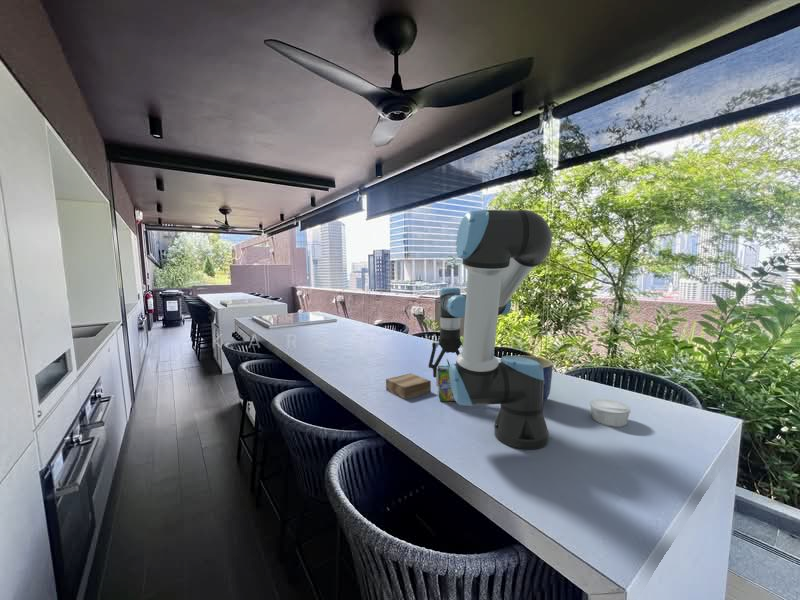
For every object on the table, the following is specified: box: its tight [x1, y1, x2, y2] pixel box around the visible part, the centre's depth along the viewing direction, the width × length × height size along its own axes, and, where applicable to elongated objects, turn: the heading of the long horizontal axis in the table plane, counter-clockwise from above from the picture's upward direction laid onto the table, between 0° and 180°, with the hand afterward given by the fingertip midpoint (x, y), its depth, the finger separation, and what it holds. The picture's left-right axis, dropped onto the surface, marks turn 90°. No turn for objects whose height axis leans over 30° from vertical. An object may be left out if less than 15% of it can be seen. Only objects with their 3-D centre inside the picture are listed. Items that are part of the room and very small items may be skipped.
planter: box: [517, 355, 554, 403], centre depth 127 cm, size 17×17×15 cm
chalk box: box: [437, 358, 456, 402], centre depth 132 cm, size 9×9×15 cm
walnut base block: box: [385, 373, 432, 400], centre depth 140 cm, size 13×13×5 cm
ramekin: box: [589, 398, 631, 428], centre depth 110 cm, size 11×11×5 cm
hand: (450, 385), depth 132 cm, fingers closed on chalk box, 9 cm apart
